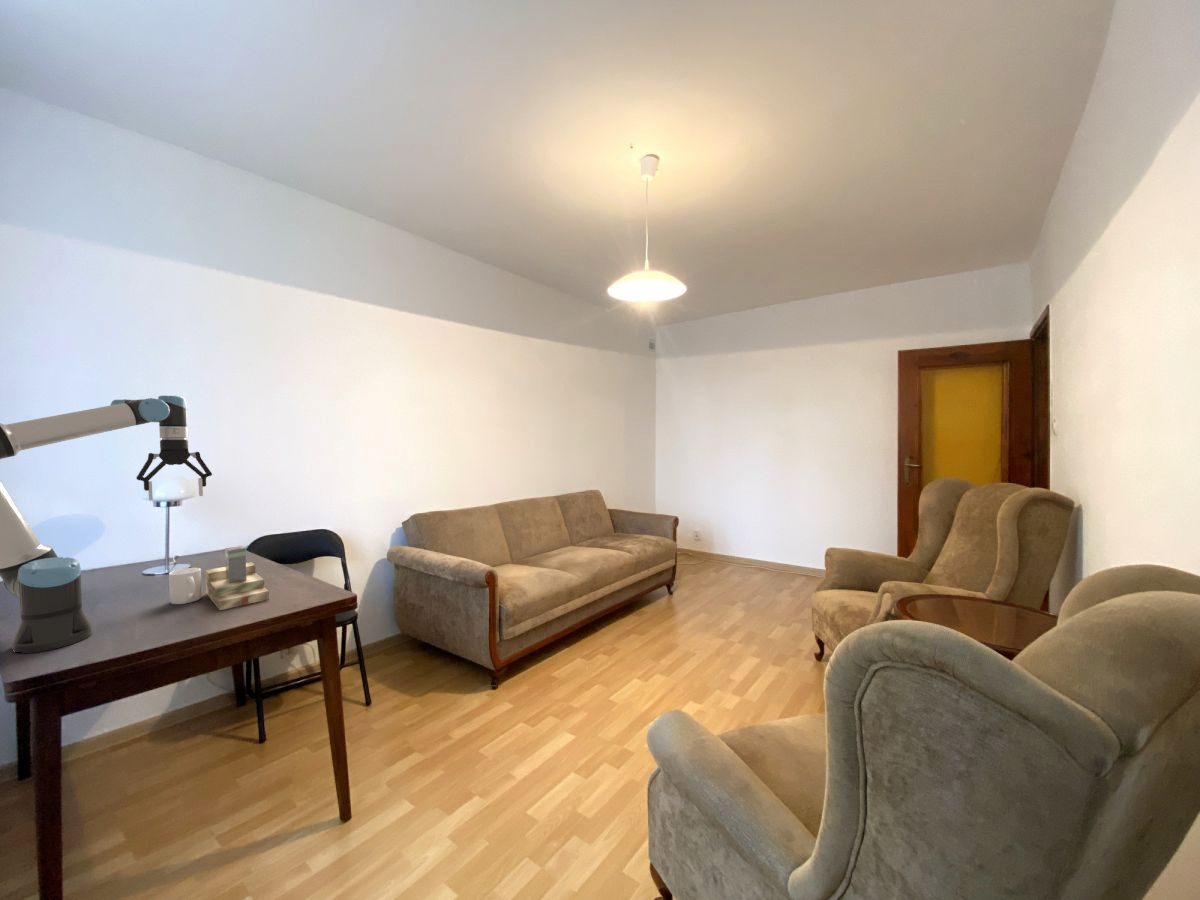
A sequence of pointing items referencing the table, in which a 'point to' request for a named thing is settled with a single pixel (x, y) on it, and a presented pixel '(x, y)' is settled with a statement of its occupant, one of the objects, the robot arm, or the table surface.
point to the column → (235, 564)
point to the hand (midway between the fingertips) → (176, 497)
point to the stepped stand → (235, 588)
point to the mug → (185, 585)
